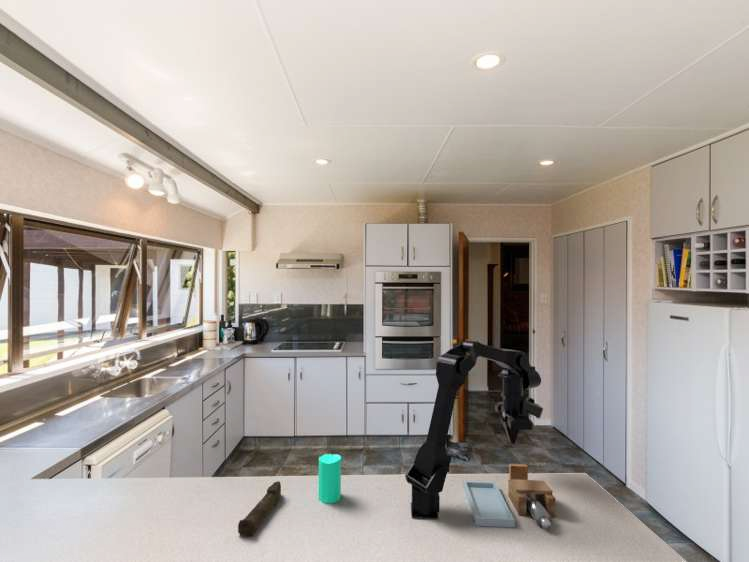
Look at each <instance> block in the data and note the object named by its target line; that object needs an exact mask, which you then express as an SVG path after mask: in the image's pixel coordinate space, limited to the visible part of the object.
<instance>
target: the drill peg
mask: <svg viewBox="0 0 749 562" xmlns="http://www.w3.org/2000/svg"><path fill="white" fill-rule="evenodd" d="M524 494H525V496H526V509H527V510H528V512H529V514H530V515H531V517H532V518H533V520H534V522H535V523H536V524H537V526H538V527H541V528H543V529H544V530H545V531H550V530H551V529H552V517H550V515H549V514H548V513H547V511H546V510H545V508H544V507H543V505H542V504H541V502H540V501H539V499H538V498H537V496H536V495H535V494H534V493H524Z"/></svg>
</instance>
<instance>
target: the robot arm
mask: <svg viewBox="0 0 749 562" xmlns="http://www.w3.org/2000/svg"><path fill="white" fill-rule="evenodd" d="M478 358H482V359H485V360H486V359H487V360H490V361H493V362H495V363H496V365H498V366H500V367H501V368H503V369H502V371H501V372H499V373H498V376H497V377H499V378H502V392H500V396H501V397H502V401H497V402H496V403H495V404H494V411H495V412H496V413H500V412H502V416H500V417H499V419H500V420H501V423H502V425H503V428H504V430H505V433H506V435H507V437H508V440H509V442H510V444H511V445H515V444H516V441H517V438H518V435H519V432H520V431H521V430H522V431H532V430H534V422H533V421H532V420H531V419H530V418H529V417H528V416H527V414H528V415H531V416H533V417H535V418H536V419H541V416H542V413H543V410H544V408H543V407H542V406H541V405H539V404H538V403H535V399H534V398H533V397H530V396H527V397H525V396H524V391H525V390H530V389H534V388H538V387H539V386H540V385H541V384H542V377H541V375H540V374H539V372H538V371H537V370H536V366H534V365H533V366H532V365H531V364H530V362H529V360H528V358H527V356H526V353H525V352H524V351H521V350H514V349H507V348H498V347H494V346H491V345H487V344H485V343H481V342H480V341H478V340H477V341H475V340H470V339H466V340H463V341H462V342H461V343H460V344H459V345H457V346H455V347H453V348H450V349H448V350H447V351H446V352H445V353H443V354H441V355H440V356H439V357H438V358H437V361H436V366H435V367H436V369H435V377H436V380H437V385H438V386H437V387H438V388H437V392H436V395H435V396H436V397H435V401H434V406H433V409H432V413H431V418H430V423H429V428H428V432H427V435H426V440H425V441H424V443H422V445H420V447H419V448H418V450H417V452H416V455H415V459H414V461H413V463H412V464H411V465H410V468H408V470H407V472H406V473H405V475H404V476H405V480H406V482H407V483H408V484H410V485H411V502H410V511H411V512H410V513H411V518H412V519H425V520H426V519H429V520H433V519H434V520H438V519H439V513H440V510H441V508H440V507H441V506H440V501H441V499H440V497H441V496H440V493H442V492H443V490H444V485H445V482H446V478H447V475H448V473H450V464H451V461H452V455H451V454H449V453H448V452H447V449H446V448H447V447H446V444H447V440H448V435H449V431H450V426H451V421H452V417H453V416H452V415H453V412H454V407H455V403H456V398H457V393H458V390H459V389H460V388H461V387H462V386H463V385H464V384H465V382H466V380H467V377H468V375H469V372H470V371H471V370H472V369H473V368H474V367H475V366H476V364H477V359H478ZM523 390H524V391H523Z"/></svg>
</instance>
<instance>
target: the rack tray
mask: <svg viewBox="0 0 749 562" xmlns="http://www.w3.org/2000/svg"><path fill="white" fill-rule="evenodd" d="M462 487H463V490H464V493H465V497H466V500H467V502H468V506H469V509H470V511H471V514H472V518H473V520H474V524H475V526H480V527H495V528H496V527H498V528H499V527H500V528H502V527H503V528H515V527H516V520H515V518H514V516H513V514H512V512H511V510H510V508H509V506H508V504H507V503H506V500H505V499H504V497H503V495H502V492H501V491H500V488H499V487H498V485H497V483H496V481H479V480H477V481H473V480H463V481H462Z"/></svg>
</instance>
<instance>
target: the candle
mask: <svg viewBox="0 0 749 562" xmlns="http://www.w3.org/2000/svg"><path fill="white" fill-rule="evenodd" d="M341 476H342V457H341V455H339V454H337V453H336V454H331V453H329V454H328V453H325V454H324V455H322V456H319V457H318V487H317V488H318V491H317V492H318V501H320V502H321V503H323V504H334V503H336V502H339V501H340V499H341V497H342V496H341V493H342V490H341V488H342V487H341V486H342V484H341V483H342V481H341V480H342V477H341Z"/></svg>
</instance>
